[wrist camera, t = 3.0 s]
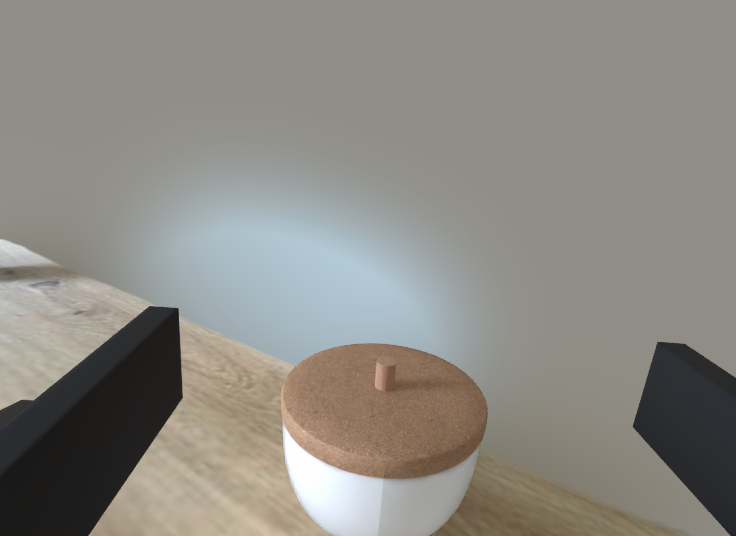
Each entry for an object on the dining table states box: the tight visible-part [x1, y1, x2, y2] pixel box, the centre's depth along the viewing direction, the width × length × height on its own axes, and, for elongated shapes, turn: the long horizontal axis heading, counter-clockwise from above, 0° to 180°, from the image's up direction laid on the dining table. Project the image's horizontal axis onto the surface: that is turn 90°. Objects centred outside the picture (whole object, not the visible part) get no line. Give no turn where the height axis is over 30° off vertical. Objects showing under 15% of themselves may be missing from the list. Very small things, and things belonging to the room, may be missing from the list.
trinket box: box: [281, 344, 487, 536], centre depth 25 cm, size 11×11×9 cm
